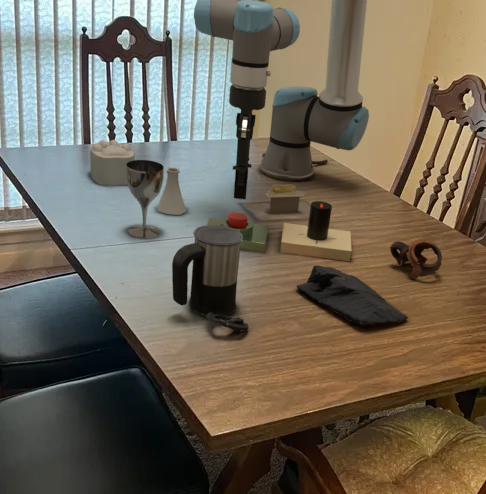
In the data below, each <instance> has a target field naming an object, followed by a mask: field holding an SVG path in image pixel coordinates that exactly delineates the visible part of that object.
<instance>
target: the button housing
mask: <svg viewBox="0 0 486 494" xmlns="http://www.w3.org/2000/svg"><path fill="white" fill-rule="evenodd" d="M207 225H219V226H226V227H229V228H232V229H235V230H237V231H239V232H240V233H241V234H242V236H243V239H242V241H241V244H240V251H241V250H242V251H250V252H256V253H257V252H258V253H265V251H266V245H267V239H268V235H269V225H266V224H258V223H254V222H253V221H251V220H250V219H247V226H245V227H233V226H230V225H228V216H227V217H224V218H222V219H220V218H211V217H209V218H208V221H207V224H206V226H207Z"/></svg>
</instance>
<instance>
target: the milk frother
mask: <svg viewBox="0 0 486 494" xmlns="http://www.w3.org/2000/svg"><path fill="white" fill-rule="evenodd" d="M192 233H193V237H194V242H193V243H189V244H186V245H183V246H181V247H180V248H179V249H178V250H177V251H176V253H175V254H174V256H173V258H172V263H171V271H172V272H171V274H172V276H171V277H172V279H171V280H172V299H173V301H174V302H175V304H177V305H179V306H185V305H187V304H188V306H189V308H190V310H192V311H193V312H195V313H197V314H200V315H202V316H206V319H207V320H209V321H210V322H212V323H214V324H216V325H220V326H222V327H225V328H228V329H230V330H232V331H234V332H237V333H241V332H242V331H243V332H246V331H248V330H249V328H250V327H249V326H250V325H249V324H248V321H246V320H244V319H243V318H242V317H239V316H236V317H233V316H229V315H232V314H234V313H235V312H236V310H237V306H238V305H237V302H236V301H237V286H238V275H239V265H240V254H241V249H240V244H241V241H242V239H243V236H242V234H241V233H240V232H239V231H237V230H235V229H232V228H229V227H226V226H219V225H207V224H206V225H201V226H198V227H196V228H195V229H194V230H193V232H192ZM191 263H192V267H191V268H192V270H191V286H190V297H189V300H188V295H189V294H188V291H189V290H188V288H189V287H188V286H189V285H188V282H189V272H188V271H189V266H190V264H191Z"/></svg>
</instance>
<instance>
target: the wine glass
mask: <svg viewBox="0 0 486 494" xmlns="http://www.w3.org/2000/svg"><path fill="white" fill-rule="evenodd" d="M164 171H165V169H164V165H163V164H161V163H159V162H157V161H154V160H148V159H134V161H130V162H128V163H127V164H126V174H127V183H128V185H127V187H128V190H129V192H130V194H131V195H132V196H133V197H134V199H135V200H136V201H138V203H139V205H140V208H141V214H142V225H134V226H131V227H129V229H128V233H129V234H130V235H131V236H133V237H136V238H139V239H140V238H142V239H150V238H155V237H159V236H160V234H161V231H160V229H158V228H156V227H154V226H150V225H147V216H148V215H147V214H148V209H149V207H150V204H151V203H152V202H153V201H154V200H155V199H156V198H157V197H158V196H159V195H160V193H161V190H162V187H163V183H164Z"/></svg>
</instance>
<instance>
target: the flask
mask: <svg viewBox="0 0 486 494" xmlns="http://www.w3.org/2000/svg"><path fill="white" fill-rule="evenodd" d="M165 170H166V173H167V174H166V176H167V177H166V181H165V185H164V188H163V190H162V194H161V196H160V199H159V201H158V204H157V206H156V208H157V212H159V213H162V214H166V215H174V216H175V215H176V216H177V215H178V216H181V215H182V214H185V213H186V212H187V208H186V205H185V200H184V198H183V194H182V191H181V188H180V183H179V182H180V181H179V174H180V172H181V170H180V168H177V167H172V166H171V167H166V168H165Z"/></svg>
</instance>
